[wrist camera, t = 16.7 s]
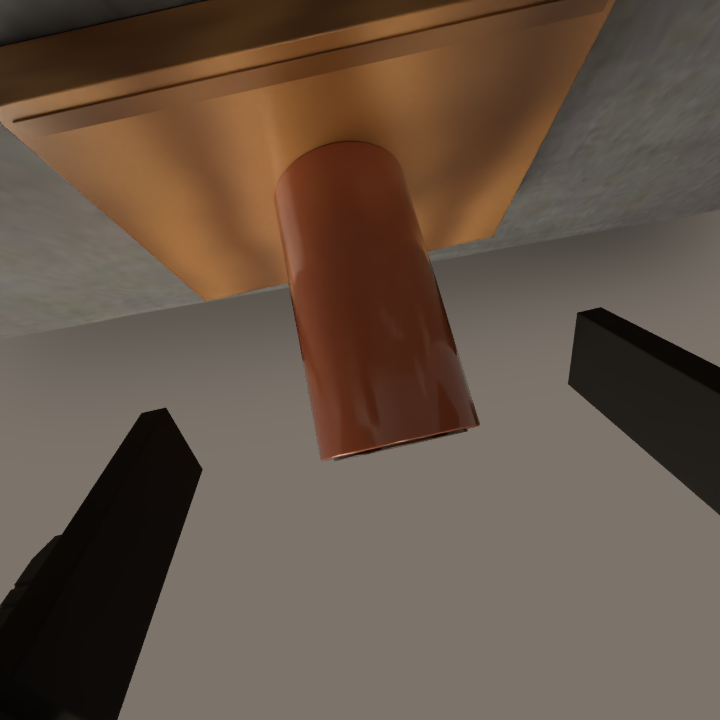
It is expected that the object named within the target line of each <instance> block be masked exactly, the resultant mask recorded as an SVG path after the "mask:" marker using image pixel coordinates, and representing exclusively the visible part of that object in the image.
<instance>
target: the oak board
mask: <svg viewBox="0 0 720 720" xmlns="http://www.w3.org/2000/svg"><path fill="white" fill-rule="evenodd" d="M615 2H616V0H208V1H204V2H199V3H195V4H190V5H186V6H181V7H177V8H172V9H168V10H163V11H159V12H154V13H150V14H145V15H141V16H136V17H132V18H127V19H123V20H118V21H114V22H110V23H105V24H101V25H96V26H92V27H87V28H83V29H78V30H74V31H69V32H65V33H60V34H56V35H51V36H47V37H42V38H38V39H33V40H29V41H24V42H20V43H15V44H11V45H6V46H2V47H0V123H1V124H2V125H4V126H5V127H6V128H7V129H8V130H9V131H10V132H12V133H13V134H14V135H15V136H16V137H17V138H18V139H20V140H21V141H22V142H23V143H24V144H25V145H27V146H28V147H29V148H30V149H31V150H32V151H33V152H35V153H36V154H37V155H38V156H39V157H40V158H41V159H43V160H44V161H45V162H46V163H47V164H48V165H49V166H51V167H52V168H53V169H54V170H55V171H56V172H58V173H59V174H60V175H61V176H62V177H63V178H64V179H66V180H67V181H68V182H69V183H70V184H71V185H72V186H74V187H75V188H76V189H77V190H78V191H79V192H81V193H82V194H83V195H84V196H85V197H86V198H87V199H89V200H90V201H91V202H92V203H93V204H94V205H95V206H97V207H98V208H99V209H100V210H101V211H102V212H104V213H105V214H106V215H107V216H108V217H109V218H110V219H112V220H113V221H114V222H115V223H116V224H117V225H118V226H120V227H121V228H122V229H123V230H124V231H125V232H127V233H128V234H129V235H130V236H131V237H132V238H133V239H135V240H136V241H137V242H138V243H139V244H140V245H141V246H143V247H144V248H145V249H146V250H147V251H148V252H150V253H151V254H152V255H153V256H154V257H155V258H156V259H158V260H159V261H160V262H161V263H162V264H163V265H164V266H166V267H167V268H168V269H169V270H170V271H171V272H173V273H174V274H175V275H176V276H177V277H178V278H179V279H181V280H182V281H183V282H184V283H185V284H186V285H187V286H189V287H190V288H191V289H192V290H193V291H194V292H195V293H197V294H198V295H199V296H200V297H201V298H202V299H204V300H205V301H208V300H213V299H217V298H222V297H226V296H231V295H235V294H240V293H244V292H249V291H253V290H257V289H262V288H266V287H271V286H275V285H280V284H284V283H288V278H287V272H286V267H285V261H284V256H283V250H282V245H281V239H280V234H279V228H278V223H277V217H276V212H275V206H274V194H275V189H276V186H277V184H278V181H279V179H280V178H281V176H282V175H283V173H284V172H285V171H286V169H287V168H288V167H289V166H290V165H291V164H292V163H293V162H295V161H296V160H297V159H298V158H300V157H301V156H303V155H304V154H306V153H308V152H310V151H312V150H314V149H316V148H319V147H321V146H324V145H328V144H331V143H337V142H346V141H357V142H365V143H370V144H373V145H376V146H379V147H381V148H383V149H385V150H386V151H388V152H389V153H390V154H392V155H393V156H394V157H395V158H396V159H397V160H398V162H399V164H400V165H401V167H402V170H403V172H404V176H405V179H406V182H407V186H408V189H409V192H410V196H411V199H412V202H413V205H414V209H415V212H416V215H417V219H418V222H419V225H420V229H421V232H422V235H423V238H424V242H425V245H426V248H427V251H431V250H435V249H440V248H444V247H449V246H453V245H458V244H462V243H466V242H471V241H475V240H480V239H484V238H489V237H493V236H494V234H495V232H496V230H497V228H498V226H499V224H500V222H501V221H502V219H503V217H504V215H505V213H506V211H507V209H508V207H509V205H510V203H511V201H512V199H513V197H514V196H515V194H516V192H517V190H518V188H519V186H520V184H521V182H522V180H523V178H524V176H525V174H526V173H527V171H528V169H529V167H530V165H531V163H532V161H533V159H534V157H535V155H536V153H537V151H538V149H539V148H540V146H541V144H542V142H543V140H544V138H545V136H546V134H547V132H548V130H549V128H550V126H551V125H552V123H553V121H554V119H555V117H556V115H557V113H558V111H559V109H560V107H561V105H562V103H563V102H564V100H565V98H566V96H567V94H568V92H569V90H570V88H571V86H572V84H573V82H574V80H575V78H576V77H577V75H578V73H579V71H580V69H581V67H582V65H583V63H584V61H585V59H586V57H587V55H588V54H589V52H590V50H591V48H592V46H593V44H594V42H595V40H596V38H597V36H598V34H599V32H600V30H601V29H602V27H603V25H604V23H605V21H606V19H607V17H608V15H609V13H610V11H611V9H612V7H613V6H614V4H615Z"/></svg>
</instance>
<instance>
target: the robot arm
mask: <svg viewBox="0 0 720 720" xmlns="http://www.w3.org/2000/svg"><path fill="white" fill-rule="evenodd" d="M568 384H569V385H570V386H571V387H572V388H573V389H574V390H576V391H577V392H578V393H579V394H580V395H581V396H583V397H584V398H585V399H586V400H587V401H588V402H589V403H591V404H592V405H593V406H594V407H595V408H596V409H598V410H599V411H600V412H601V413H602V414H603V415H604V416H606V417H607V418H608V419H609V420H610V421H611V422H613V423H614V424H615V425H616V426H617V427H618V428H620V429H621V430H622V431H623V432H624V433H626V434H627V435H628V436H629V437H630V438H631V439H632V440H633V441H635V442H636V443H637V444H638V445H639V446H640V447H642V448H643V449H644V450H645V451H646V452H647V453H648V454H650V455H651V456H652V457H653V458H654V459H655V460H657V461H658V462H659V463H660V464H661V465H663V466H664V467H665V468H666V469H667V470H668V471H669V472H671V473H672V474H673V475H674V476H675V477H676V478H677V479H679V480H680V481H681V482H682V483H683V484H684V485H685V486H687V487H688V488H689V489H690V490H691V491H692V492H694V493H695V494H696V495H697V496H698V497H699V498H701V499H702V500H703V501H704V502H705V503H706V504H707V505H709V506H710V507H711V508H712V509H713V510H715V511H716V512H717V513H718V514H719V515H720V367H718V366H716V365H714V364H712V363H710V362H708V361H706V360H704V359H702V358H700V357H698V356H696V355H694V354H692V353H690V352H688V351H686V350H684V349H682V348H681V347H679V346H676V345H675V344H673V343H671V342H669V341H667V340H665V339H663V338H661V337H659V336H657V335H654V334H653V333H651V332H649V331H647V330H645V329H643V328H641V327H639V326H637V325H635V324H633V323H631V322H629V321H627V320H625V319H623V318H621V317H619V316H617V315H615V314H613V313H611V312H609V311H607V310H605V309H603V308H601V307H600V308H596V309H591V310H587V311H583V312H578V313H577V319H576V327H575V335H574V343H573V350H572V357H571V365H570V374H569V380H568ZM201 472H202V468H201V466H200V464H199V463H198V461H197V459H196V457H195V456H194V454H193V453H192V451H191V449H190V448H189V446H188V444H187V442H186V441H185V439H184V437H183V436H182V434H181V432H180V430H179V429H178V427H177V425H176V424H175V422H174V420H173V419H172V417H171V415H170V413H169V412H168V410H167V409H166V408H162V409H158V410H153V411H149V412H145V413H142V414H141V415H140V416H139V418H138V419H137V421H136V422H135V424H134V425H133V427H132V429H131V430H130V432H129V433H128V435H127V436H126V438H125V439H124V441H123V442H122V444H121V445H120V447H119V448H118V450H117V451H116V453H115V454H114V456H113V458H112V459H111V460H110V462H109V464H108V465H107V467H106V468H105V470H104V471H103V473H102V474H101V476H100V477H99V479H98V480H97V482H96V483H95V485H94V486H93V488H92V489H91V491H90V493H89V494H88V496H87V497H86V499H85V500H84V502H83V503H82V505H81V506H80V508H79V509H78V511H77V513H76V514H75V515H74V517H73V518H72V520H71V521H70V523H69V524H68V526H67V528H66V529H65V531H64V532H63V534H62V535H58V536H55V537H54V538H53V539H52V540H51V541H50V542H49V543H48V544H47V545H46V546H45V547H44V548H43V549H42V550H41V551H40V552H39V553H38V554H37V555H36V556H35V557H34V558H33V559H32V560H31V562H30V563H29V564H28V566H27V567H26V569H25V570H24V572H23V573H22V575H21V576H20V577H19V579H18V580H17V582H16V583H15V588H14V589H12V590H10V592H9V593H8V595H7V596H6V598H5V599H4V601H3V602H2V604H1V605H0V720H117V719H118V716H119V713H120V710H121V707H122V704H123V702H124V698H125V695H126V692H127V690H128V687H129V683H130V681H131V678H132V675H133V672H134V669H135V666H136V663H137V660H138V657H139V654H140V652H141V649H142V646H143V643H144V640H145V637H146V634H147V631H148V628H149V625H150V622H151V619H152V616H153V613H154V610H155V608H156V604H157V602H158V599H159V596H160V593H161V590H162V587H163V584H164V581H165V578H166V575H167V572H168V569H169V566H170V563H171V560H172V558H173V555H174V551H175V549H176V546H177V543H178V540H179V537H180V534H181V531H182V528H183V525H184V522H185V519H186V517H187V514H188V511H189V508H190V504H191V502H192V499H193V496H194V493H195V490H196V487H197V484H198V481H199V478H200V475H201Z"/></svg>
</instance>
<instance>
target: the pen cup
mask: <svg viewBox="0 0 720 720" xmlns="http://www.w3.org/2000/svg"><path fill="white" fill-rule="evenodd" d="M274 206H275V212H276V217H277V223H278V228H279V234H280V239H281V245H282V250H283V256H284V261H285V267H286V272H287V278H288V283H289V289H290V294H291V300H292V305H293V310H294V316H295V321H296V327H297V332H298V338H299V343H300V349H301V354H302V360H303V366H304V371H305V377H306V382H307V387H308V393H309V398H310V403H311V409H312V415H313V421H314V426H315V431H316V437H317V443H318V448H319V454H320V459H321V461H327V460H332V459H334V461H338V460H343V459H348V458H352V457H357V456H361V455H366V454H370V453H375V452H379V451H383V450H388V449H393V448H397V447H401V446H406V445H410V444H415V443H419V442H423V441H428V440H432V439H436V438H441V437H445V436H449V435H453V434H458V433H462V432H466V431H468V430H467V429H469V428H473V427H476V426H479V425H480V423H479V420H478V417H477V413H476V410H475V407H474V403H473V400H472V397H471V394H470V391H469V387H468V384H467V380H466V377H465V374H464V370H463V367H462V364H461V361H460V357H459V354H458V351H457V348H456V344H455V341H454V338H453V334H452V331H451V328H450V324H449V321H448V318H447V314H446V311H445V308H444V304H443V302H442V298H441V295H440V291H439V288H438V285H437V281H436V278H435V275H434V271H433V268H432V265H431V262H430V258H429V255H428V252H427V248H426V245H425V242H424V238H423V235H422V232H421V229H420V225H419V222H418V219H417V215H416V212H415V209H414V205H413V202H412V199H411V196H410V192H409V189H408V186H407V182H406V179H405V176H404V172H403V170H402V167H401V165H400V164H399V162H398V160H397V159H396V158H395V157H394V156H393V155H392V154H390V153H389V152H388V151H386V150H385V149H383V148H381V147H379V146H376V145H373V144H370V143H365V142H357V141H346V142H337V143H331V144H328V145H324V146H321V147H319V148H316V149H314V150H312V151H310V152H308V153H306V154H304V155H303V156H301V157H300V158H298V159H297V160H296V161H295V162H293V163H292V164H291V165H290V166H289V167H288V168H287V169H286V171H285V172H284V173H283V175H282V176H281V178H280V179H279V181H278V184H277V186H276V189H275V194H274Z"/></svg>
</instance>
